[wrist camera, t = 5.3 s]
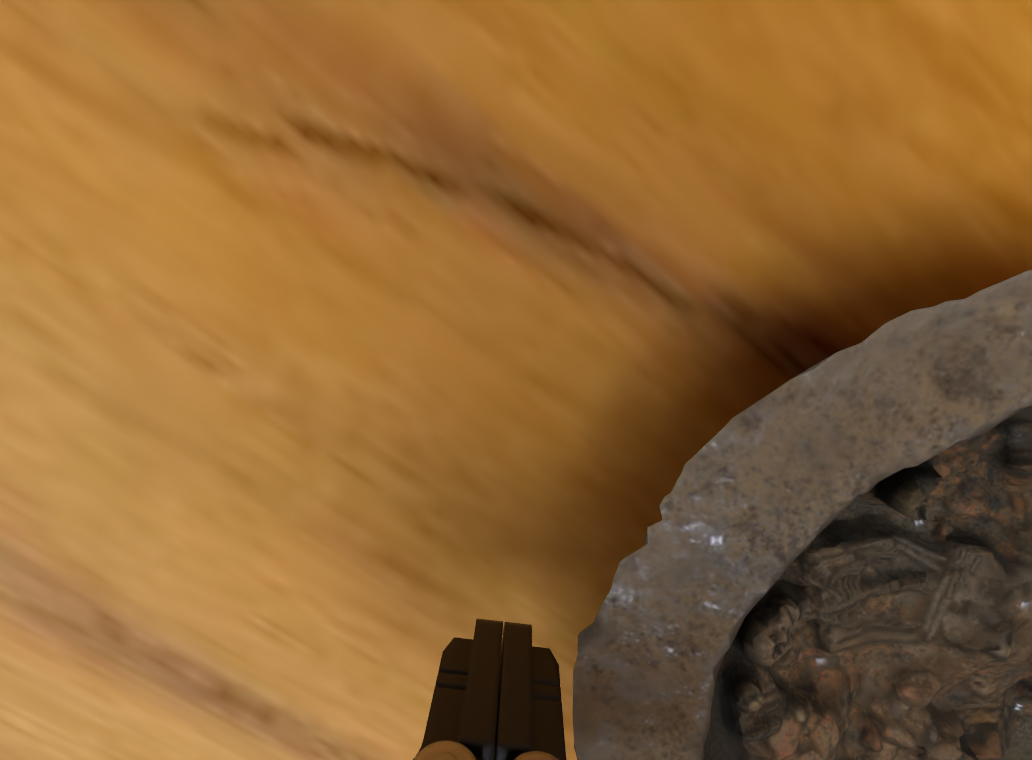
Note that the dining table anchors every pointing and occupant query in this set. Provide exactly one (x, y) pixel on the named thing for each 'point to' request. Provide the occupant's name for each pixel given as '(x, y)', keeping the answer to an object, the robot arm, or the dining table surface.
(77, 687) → the dining table surface
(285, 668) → the dining table surface
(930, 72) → the dining table surface
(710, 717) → the stone bowl
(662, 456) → the dining table surface
